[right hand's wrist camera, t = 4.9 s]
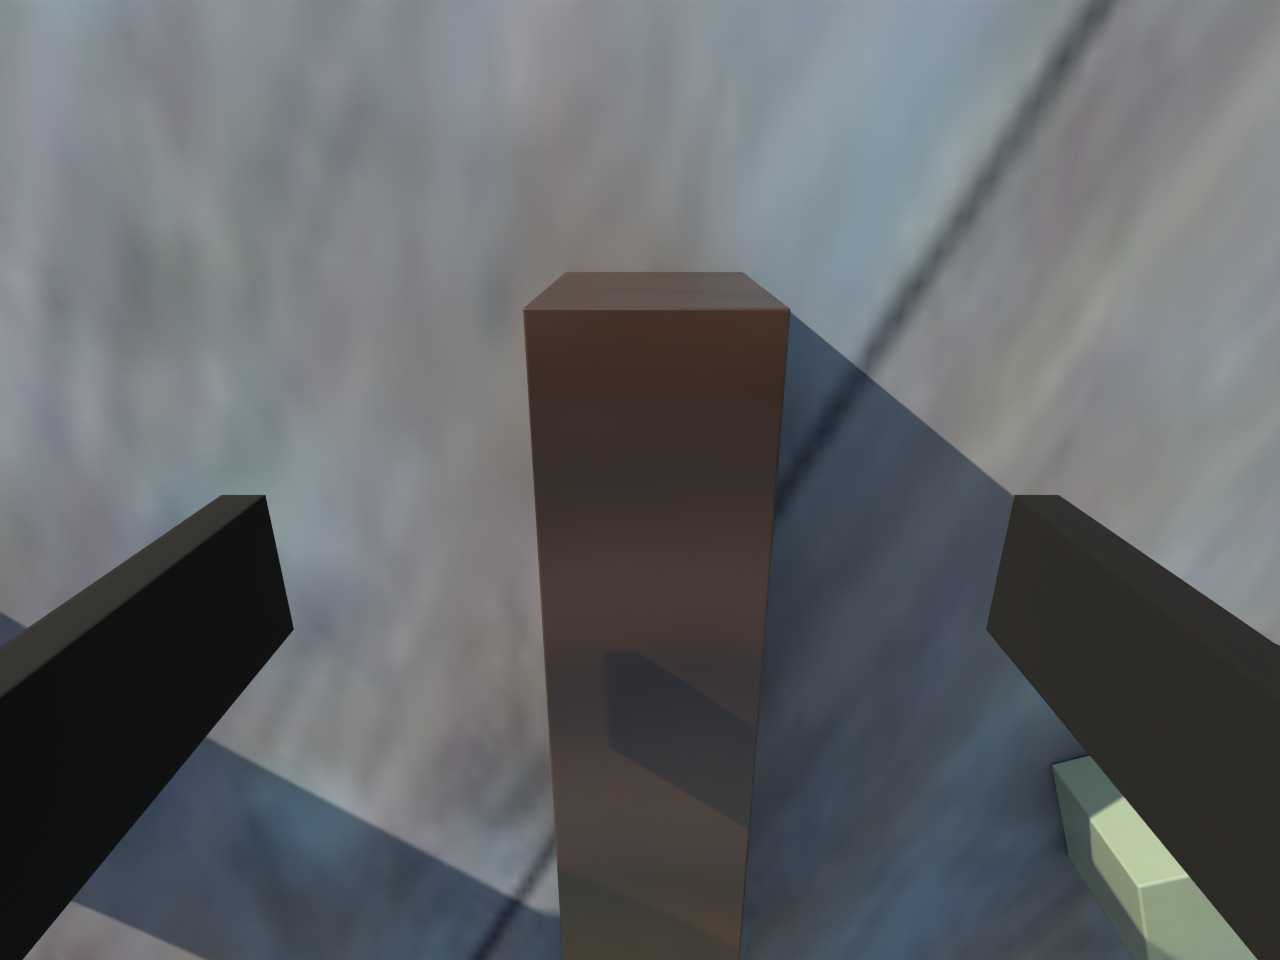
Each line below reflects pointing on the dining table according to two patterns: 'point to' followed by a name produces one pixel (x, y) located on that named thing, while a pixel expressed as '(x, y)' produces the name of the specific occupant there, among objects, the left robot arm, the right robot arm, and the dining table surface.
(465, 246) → the dining table surface
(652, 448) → the walnut block
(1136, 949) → the sage block
